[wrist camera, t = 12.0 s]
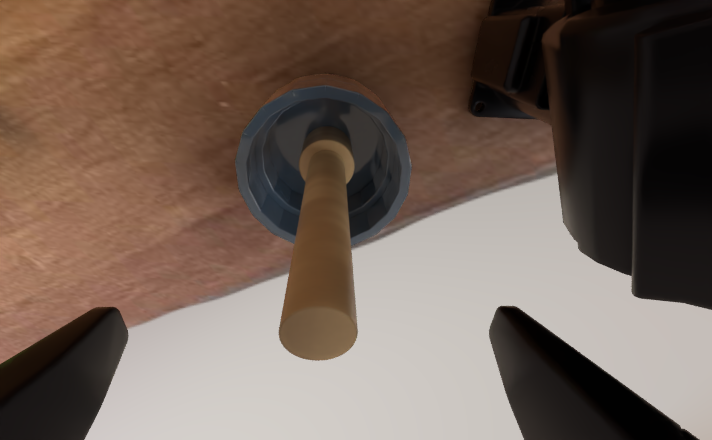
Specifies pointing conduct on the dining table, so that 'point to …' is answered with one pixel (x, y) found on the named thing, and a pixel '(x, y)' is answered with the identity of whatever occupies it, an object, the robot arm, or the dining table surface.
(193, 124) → the dining table surface
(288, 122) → the bowl
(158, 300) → the dining table surface
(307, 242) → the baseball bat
